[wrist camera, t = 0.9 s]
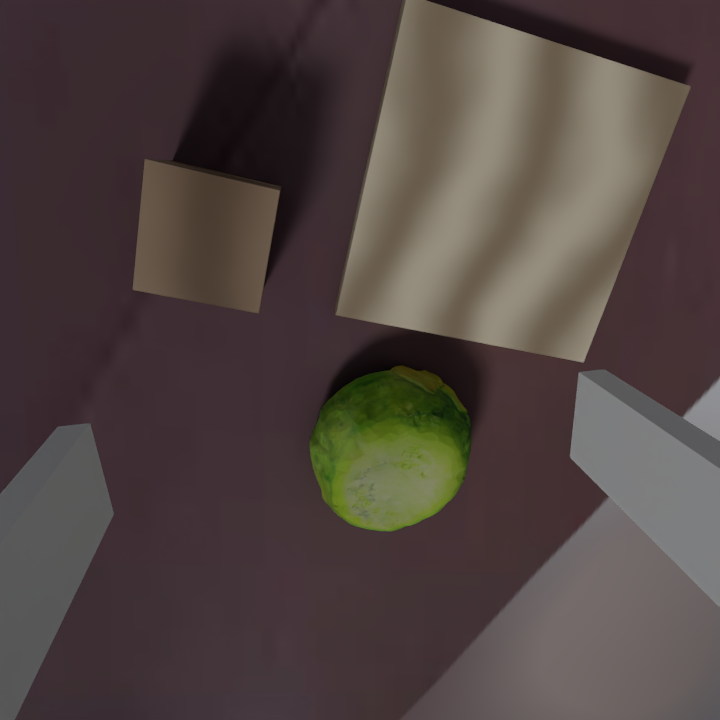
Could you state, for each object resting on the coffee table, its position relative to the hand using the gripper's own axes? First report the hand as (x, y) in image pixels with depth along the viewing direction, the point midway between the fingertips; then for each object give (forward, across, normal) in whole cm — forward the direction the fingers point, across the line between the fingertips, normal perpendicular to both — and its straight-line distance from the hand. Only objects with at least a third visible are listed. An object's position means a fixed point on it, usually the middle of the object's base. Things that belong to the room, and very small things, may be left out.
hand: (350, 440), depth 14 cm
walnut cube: (+19, -5, +4) cm, 20 cm away
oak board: (+19, +12, +4) cm, 23 cm away
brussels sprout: (+20, +4, -11) cm, 23 cm away
